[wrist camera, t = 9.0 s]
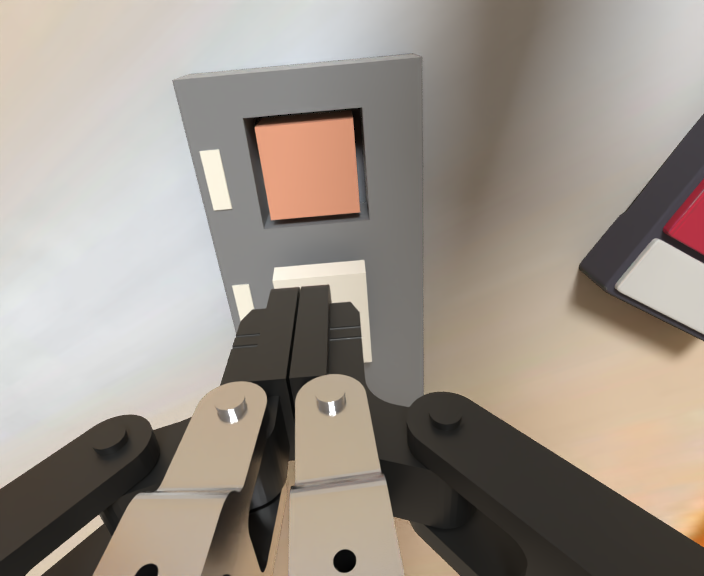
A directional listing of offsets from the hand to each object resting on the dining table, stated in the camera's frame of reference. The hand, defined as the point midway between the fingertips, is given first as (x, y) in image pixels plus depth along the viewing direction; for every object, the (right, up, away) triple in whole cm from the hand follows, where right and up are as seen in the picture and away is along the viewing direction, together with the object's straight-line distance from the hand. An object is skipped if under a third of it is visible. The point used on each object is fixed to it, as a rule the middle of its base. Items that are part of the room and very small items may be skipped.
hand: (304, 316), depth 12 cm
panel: (0, +1, +19) cm, 19 cm away
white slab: (0, 0, +16) cm, 16 cm away
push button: (-1, +8, +15) cm, 17 cm away
